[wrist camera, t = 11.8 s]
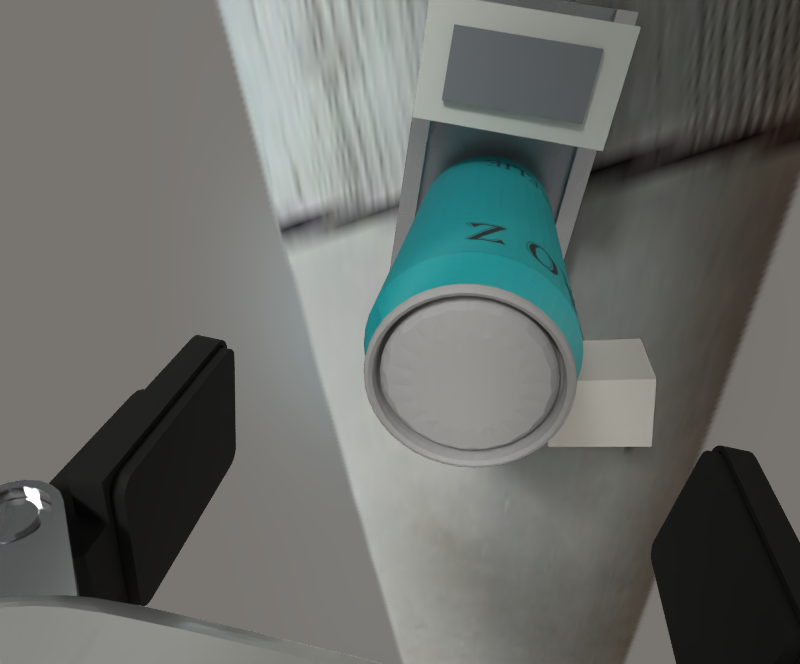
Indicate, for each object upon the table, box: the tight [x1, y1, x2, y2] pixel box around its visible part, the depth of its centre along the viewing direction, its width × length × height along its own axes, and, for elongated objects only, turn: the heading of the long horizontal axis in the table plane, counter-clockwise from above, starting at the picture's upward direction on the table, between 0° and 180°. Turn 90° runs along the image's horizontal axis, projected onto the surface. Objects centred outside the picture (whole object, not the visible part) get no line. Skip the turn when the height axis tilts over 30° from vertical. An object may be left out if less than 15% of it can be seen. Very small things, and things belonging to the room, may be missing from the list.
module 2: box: [548, 338, 656, 447], centre depth 30 cm, size 4×5×4 cm
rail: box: [390, 0, 639, 270], centre depth 28 cm, size 18×8×2 cm, turn 172°
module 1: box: [412, 0, 641, 151], centre depth 22 cm, size 4×7×5 cm, turn 82°
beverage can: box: [364, 156, 583, 468], centre depth 21 cm, size 6×6×15 cm
